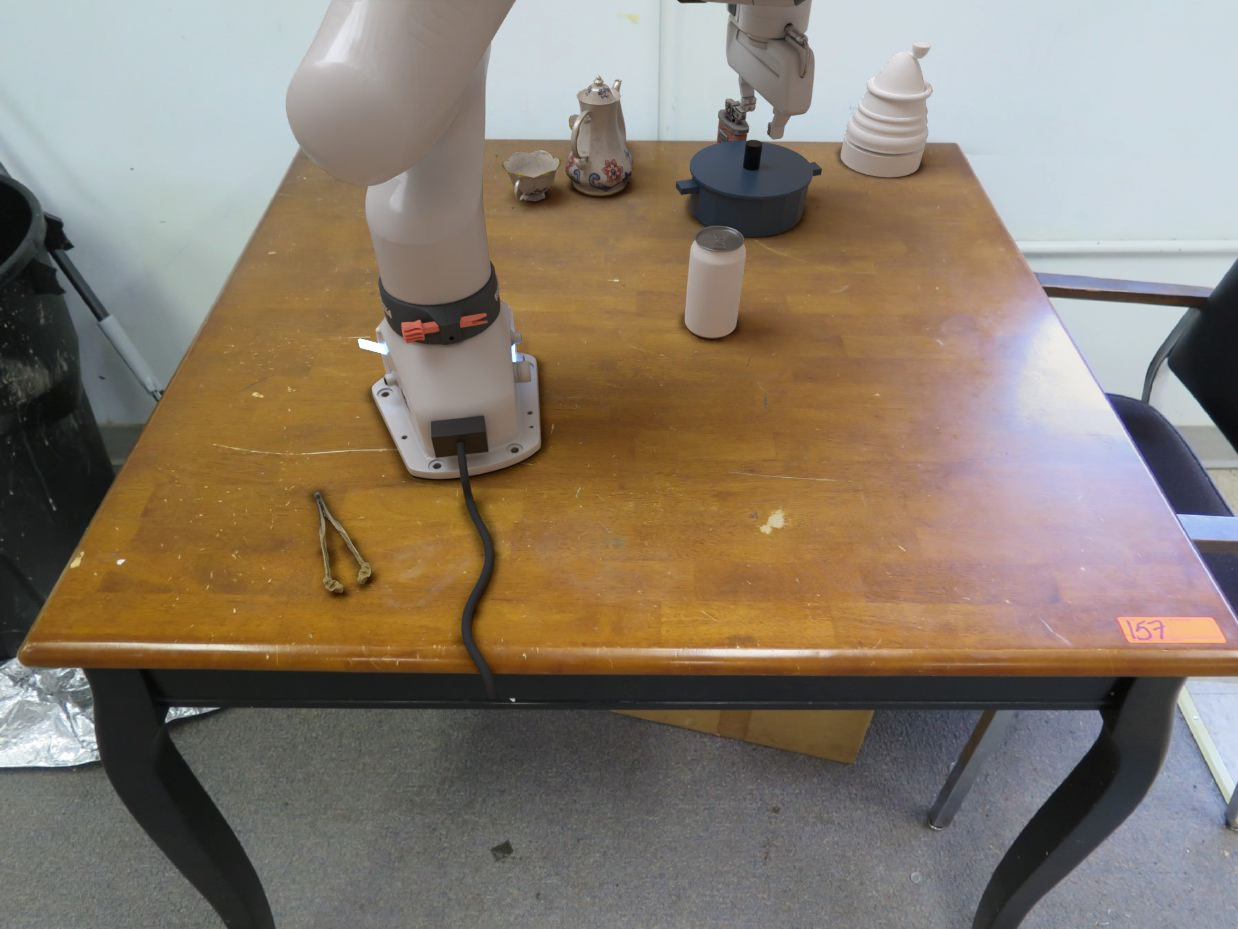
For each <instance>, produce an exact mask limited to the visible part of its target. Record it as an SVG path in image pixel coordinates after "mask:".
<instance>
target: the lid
mask: <svg viewBox="0 0 1238 929" xmlns="http://www.w3.org/2000/svg"><path fill="white" fill-rule="evenodd" d="M810 163H811V162H810V161H808V159H807V158H806V157H804V156H803V155H802V154H800V153H799V152H797V151H795V150H793V149H791V148H788V147H785V146H782V145H779V144H775V143H771V142H765V141H761V140H758V139H749V140H746V141H728V142H722V143H717V142H716V143H714V144H710V145H707V146H706V147H703V148H702V149H700V150H698V151H697V152H695V154H693V156H692V157H691V159H690V162H689V172H690V175H691V177H692V176H693V178H694V179H695V180H696V181H697V182H698V183H699V184H701V185H702V186H704V187H705V188H707V189H709V190H711V191H714V192H716V193H719V194H722V195H726V196H730V197H734V198H741V199H751V200H766V199H777V198H782V197H786V196H790V195H793V194H795V193H798V192H800V191H801V190H803V189H804V188H806V187H807V186H808V187H809V185H810V184H811V182H812V180H813V177H814V176H813V169H812V166H811V164H810Z"/></svg>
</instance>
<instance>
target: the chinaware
mask: <svg viewBox="0 0 1238 929" xmlns="http://www.w3.org/2000/svg"><path fill="white" fill-rule="evenodd" d="M592 82H593V83H591V84H590V85H589V86H588V87H587V88H583V89H582V90H579V91H578V92H577V94H575V95H576V99H577V100H578V106H579V109H580V114H572V115H569V118H568V126H569V129H570V130H571V133H570V134H571V135H570V152H569V154H568V156H567V162H566V165H565V168H564V171H565V175H566V176H567V177H568V178H569V179H570V181H572V186H573V188H574V189H575V190H576V191H577V192H579V193H580V194H583V195H587V196H591V197H608V196H614V195H616V194H619V193H621V192H622V191H623V190H625V188H626V187H627V182H628V181H629V180H630V179H631V177H632V175H633V165H634V157H633V156H632V154H631V152H630V150H628V148H627V146H626V144H627V130H626V122H625V116H624V113H623V108H622V102H621V98H622V95H621V92H620V91H621V86H622V82H623V81H622V79H620V78H619V79H618V78H617V79H615V80H614V82H613V83H612V87H611V88H610V87H609V85H608V84H606V83H604V82H605V81H604V79H602V76H601V75H599V74H598V75H596V76H595V79H593V80H592ZM561 165H562V160H561V159H560V158H559V157H554V156H553V155H552V154H551V153H550V152H549V151H548V150H545V149H537V150H534V151H532V152H527V151H523V150H520V151H519V150H518V151H514V152H513V153H511V154H510V155H509V157H508V158H507V160H504V161H502V163H501V167H502V169H503V170H504V171H505V172H506V173H507V174H508V177H509V179H510V181H511V184H512V186H513V188H514V189H513V193H514V198H515V200H516V201H518V202H521V201H523V200H524V201H530V202H537V201H540V200H543V199H545V198H546V194H545V192H547V191H548V190H550V188H551V187H552V185H553V184H554V181H555V179H556V173H557V171H558V169H559V168H560V166H561ZM519 192H520V193H522V194H521V195H520V197H519V195H518V194H519Z"/></svg>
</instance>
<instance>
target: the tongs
mask: <svg viewBox="0 0 1238 929" xmlns="http://www.w3.org/2000/svg"><path fill="white" fill-rule="evenodd" d="M313 493H314V494H313V496H314V499H315V502H316V507H317V512H318V518H319V519H318V520H319V526H318V533H319V540H320V541H319V542H320V547H321V552H322V556H323V557H322V558H323V566H324V572H325V576H324V578H323V579H322V583H323V586H324V587H325V589H326V590H327V591H329V592H334V593H338V594H341V593H343V592H344V585H343V584H341V583H340V582H339V581H338V580H336V579H333V576H332V571H331V568H330V562H329V561H330V557H329V552H328V547H327V538H326V537H327V536H326V520H325V518H326V519H328V520H329V522H330V523H331V524H332V526H333V527H334V528H335V529H336V531H337V532H338V533H339V535H340V536H341V537H342V539H343V540H344V542H345V543H346V545H347V548H348V549H349V550H350V552H352V554H353V555H354V557H355V559H356V561H357V562H358V565H359V566H360V569H359V571H358V577H357V578H356V579H357V582H358V583H359V585H363V584H365V583H366V582H367V580H368V578H369V577H370V576H371V574H372V567H371V565H370V563H369V562H365V561H364V559H363V557H362V556H361V554H360V553H359V551H358V550H357V548H356V547H355V546H354V545H353V542H352V541H351V538H350V537H349V535H348V534H347V532H346V531H345V529H344V528H343V526H342V524H341V523H340V522H339V521H338V520H337V519H336V518H335V516H334V515H333V514H332V513H331V511H330V509H329V508H328V506H327V504H326V503H325V501H324V498H323V495H322V494H321V492H320V491H319V490H317V491H314V492H313Z"/></svg>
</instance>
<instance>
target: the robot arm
mask: <svg viewBox="0 0 1238 929" xmlns="http://www.w3.org/2000/svg"><path fill="white" fill-rule="evenodd" d="M676 1H677V2H678V3H679V4H707V3H715V4H726V5H725V7H726V11H727V13H728V14H729V15H728V18H727V24H726V37H725V38H726V41H725V44H726V45H725V56H726V61H727V65H728V66H729V67H730V69H732V70H733V71H734V72H735V73H736V74H737V75H738V80H737V81H738V87H739V93H740V100H739V102H740V107H741V108H742V109H743V110H744V111H745V112H746V113H749V112H750V113H751V112H754V111H755V110H756V104H757V100H758V98H757V97H756V96H755V91H756V93H758V94H759V95H760V96H761V97H762V98H763V99H764V100H765V101H766V102H767V103H768V104H770V106H772V114H773V118H772V120H771V121H770V122H768V123H767V131H766V134H767V136H769V138H770V139H771V140H772V141H773V140H774V141H775V140H780V139H782V138H783V137H784V135H785V127H786V126H787V123H788V122H789V120H790V119H791V117H795V116H800V115H805V114H807V112H808V111H809V109H810V108H811V106H812V101H813V100H812V99H813V91H814V82H815V81H814V80H815V71H816V70H815V69H816V60H815V54H814V50H813V48H811V47H810V44H809V38H808V35H806V34H805V33H806V32H807V31H808V29H809V23H810V16H811V11H812V4H813V0H676ZM516 2H517V0H331V1H330V3H329V5H328V7H327V9H326V11H325V14H324V16H323V18H322V20H321V22H320V24H319V27H318V29H317V31H316V32H315V33H316V34H315V36H314V37H313V40H312V42H311V44H310V45H309V47H308V49H307V50H306V52H305V54H304V56H303V58H302V59H301V61H300V63H299V64H298V66H297V68H296V69H295V72H294V74H293V75H292V77H291V79H290V81H289V84H288V86H287V89H286V94H285V112H286V117H287V122H288V125H289V127H290V130H291V133H292V135H293V137H294V139H295V140H296V143H297V144H298V146H299V147H300V148H301V150H302V151H303V153H304V154H305V155H306V157H308V158H309V160H310V161H311V162H312V163H313V164H315V166H317V167H318V168H319V169H320V170H322V171H323V172H324V173H326V174H327V175H329V176H331V177H332V178H334V179H336V180H338V181H340V182H343V183H345V184H349V185H352V186H357V187H367V189H366V194H365V200H364V201H365V202H364V209H365V210H364V212H365V220H366V224H367V228H368V232H369V236H370V241H371V244H372V249H373V253H374V256H375V260H376V264H377V269H378V272H379V276H378V280H377V281H378V282H377V285H378V291H379V292H378V295H379V299H380V304H381V307H382V309H383V312H384V317H383V319H382V320H381V322H380V323H379V324H378V326H377V327H376V328H375V334H376V339H377V342H374V341H370V340H368V339H367V340H366V339H362V338H359V339H357V341H358V345H359V348H360V349H364V350H369V351H372V352H376V353H380V355H381V359H382V362H383V367H384V371H385V374H384V375H383V377H381V378H379V379H378V380H377V381H375V383H374V384H373V385H372V386H371V394H372V399H373V400H374V403H375V404H376V407H377V409H378V411H379V413H380V415H381V418H382V419H383V422H384V424H385V426H386V428H387V430H388V432H389V434H390V436H391V438H392V441H393V443H394V445H395V447H396V449H397V451H398V453H399V455H400V457H401V460H402V462H403V464H404V466H405V468H406V470H407V472H408V473H409V475H411V476H414V477H417V478H423V479H431V480H445V479H446V480H447V479H448V480H449V479H457V478H460V483H461V487H462V488H461V489H462V494H463V497H464V502H465V505H466V508H467V510H468V514H469V516H470V518H471V520H472V522H473V524H474V525H475V528H476V531H477V532H478V534H479V537H480V538H481V541H482V544H483V549H484V550H483V551H484V562H483V567H482V570H481V572H480V575H479V578H478V579H477V581H476V583H475V585H474V587H473V589H472V590H471V593H470V594H469V596H468V598H467V601H466V602H465V605H464V608H463V611H462V615H461V625H460V628H461V629H460V630H461V637H462V642H463V644H464V647H465V649H466V651H467V653H468V655H469V656H470V658H471V660H472V662H473V663H474V665H475V666H476V669H477V670H478V672H479V674H480V676H481V680H482V681H483V684H484V688H485V692H486V695H487V698H488V699H490V700H495V699H496V698H497V697H498V690H497V686H496V682H495V679H494V676H493V673H492V671H491V669H490V667H489V665H488V663H487V661H486V659H485V658H484V656H483V654H482V653H481V652H480V650H479V648H478V646H477V645H476V642H475V640H474V638H473V632H472V619H473V615H474V611H475V609H476V606H477V603H478V601H479V599H480V597H481V595H482V594H483V591H484V590H485V588H486V586H487V584H488V581H489V579H490V577H491V574H492V572H493V567H494V560H495V553H494V545H493V541H492V538H491V534H490V533H489V530H488V529H487V526H486V524H485V523H484V521H483V520H482V517H481V515H480V513H479V510H478V509H477V506H476V502H475V499H474V495H473V492H472V486H471V481H470V477H472V476H477V475H481V474H482V475H483V474H486V473H491V472H494V471H495V472H496V471H498V470H501V469H504V468H507V467H511V466H513V465H516V464H518V463H520V462H523V461H524V460H526V459H528V458H529V457H531V456H533V455H534V454H535V453H537V452H538V451H539V450H540V449H541V447H542V432H541V431H542V430H541V428H542V427H541V407H540V388H539V368H538V363H537V359H536V358H535V357H534V356H533V355H530V354H527V353H524V352H518V347H517V345H522V344H523V336H522V331H521V330H515V320H514V312H513V307H512V306H511V305H510V304H508V303H507V302H505V301H503V300H501V298H500V285H499V284H500V283H499V278H498V275H497V273H496V268H495V265H494V263H493V262H492V261H491V259H490V250H489V241H488V233H487V224H486V217H485V215H486V214H485V207H484V206H485V205H484V165H485V164H484V162H485V146H486V145H485V144H486V110H487V109H486V98H487V97H486V96H487V77H488V70H489V63H490V58H491V51H492V42H493V40H494V38H495V37H496V35H497V33H498V31H499V30H500V28H501V26H502V24H503V23H504V21H505V19H506V18H507V16H508V15H509V13H510V11H511V9H512V8H513V6H514V5H515V3H516Z"/></svg>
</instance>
